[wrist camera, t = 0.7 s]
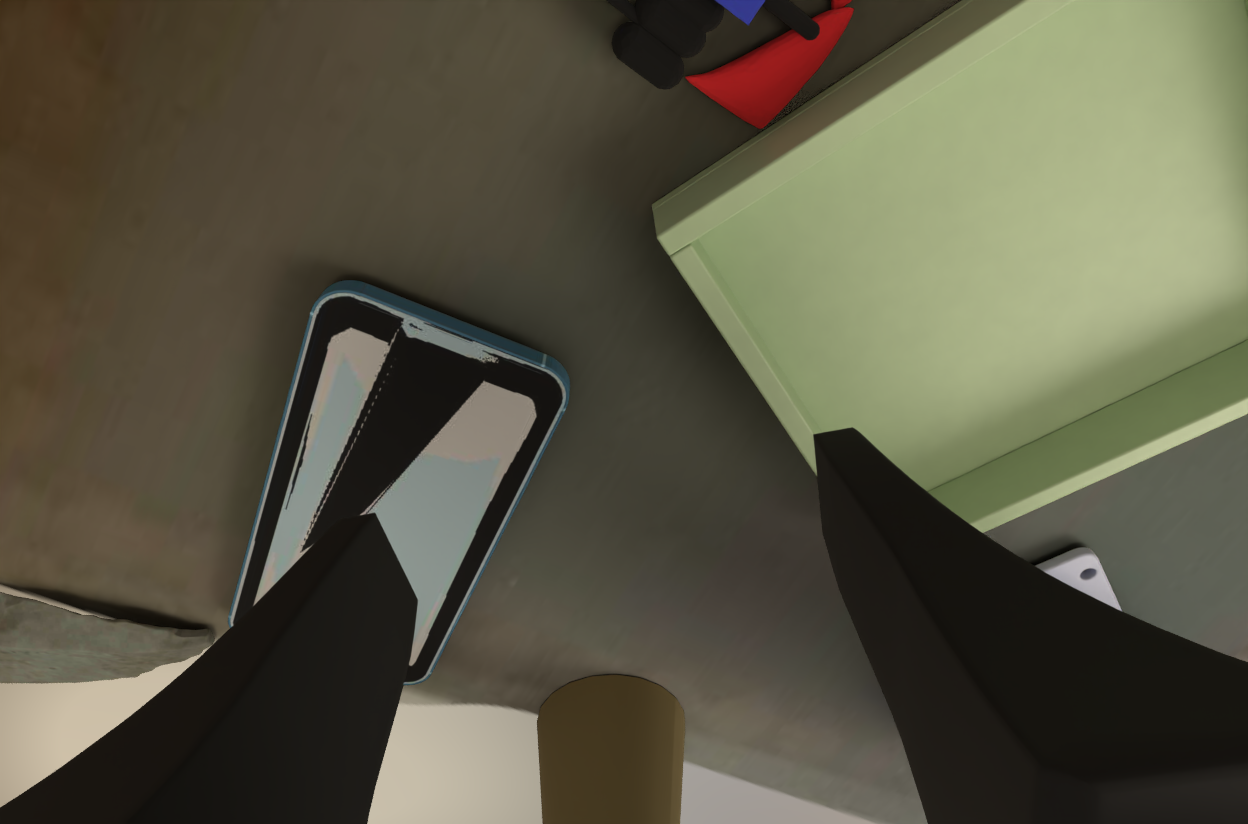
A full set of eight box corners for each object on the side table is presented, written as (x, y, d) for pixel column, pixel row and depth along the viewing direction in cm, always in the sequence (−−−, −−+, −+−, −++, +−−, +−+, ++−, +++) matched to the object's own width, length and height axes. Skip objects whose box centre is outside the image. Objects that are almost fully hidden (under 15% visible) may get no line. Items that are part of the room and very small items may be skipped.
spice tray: (1320, 307, 22) (1395, 348, 20) (862, 525, 26) (884, 578, 24) (1224, -175, 16) (1317, -189, 14) (650, 204, 20) (655, 237, 18)
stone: (197, 626, 27) (212, 722, 29) (215, 593, 28) (227, 688, 30) (-165, 601, 25) (-117, 704, 28) (-127, 568, 26) (-85, 670, 29)
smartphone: (221, 636, 27) (317, 276, 20) (232, 615, 28) (329, 262, 21) (423, 691, 29) (582, 380, 22) (429, 670, 30) (584, 363, 22)
